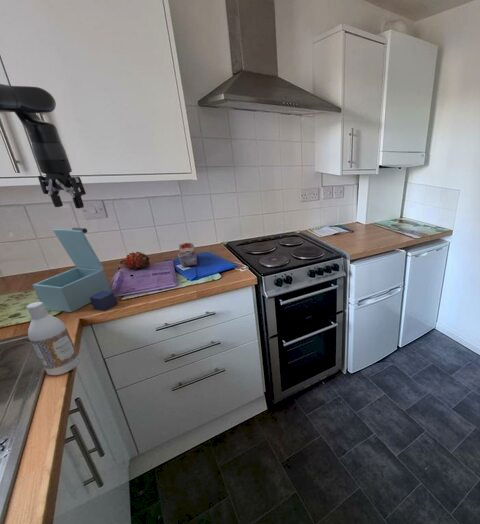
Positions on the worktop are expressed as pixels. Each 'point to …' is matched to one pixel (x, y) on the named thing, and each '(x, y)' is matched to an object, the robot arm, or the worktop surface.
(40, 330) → the bath foam
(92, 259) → the lid
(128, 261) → the dragon fruit
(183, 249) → the food item
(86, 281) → the light blue storage bin
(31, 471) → the worktop surface
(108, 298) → the block
